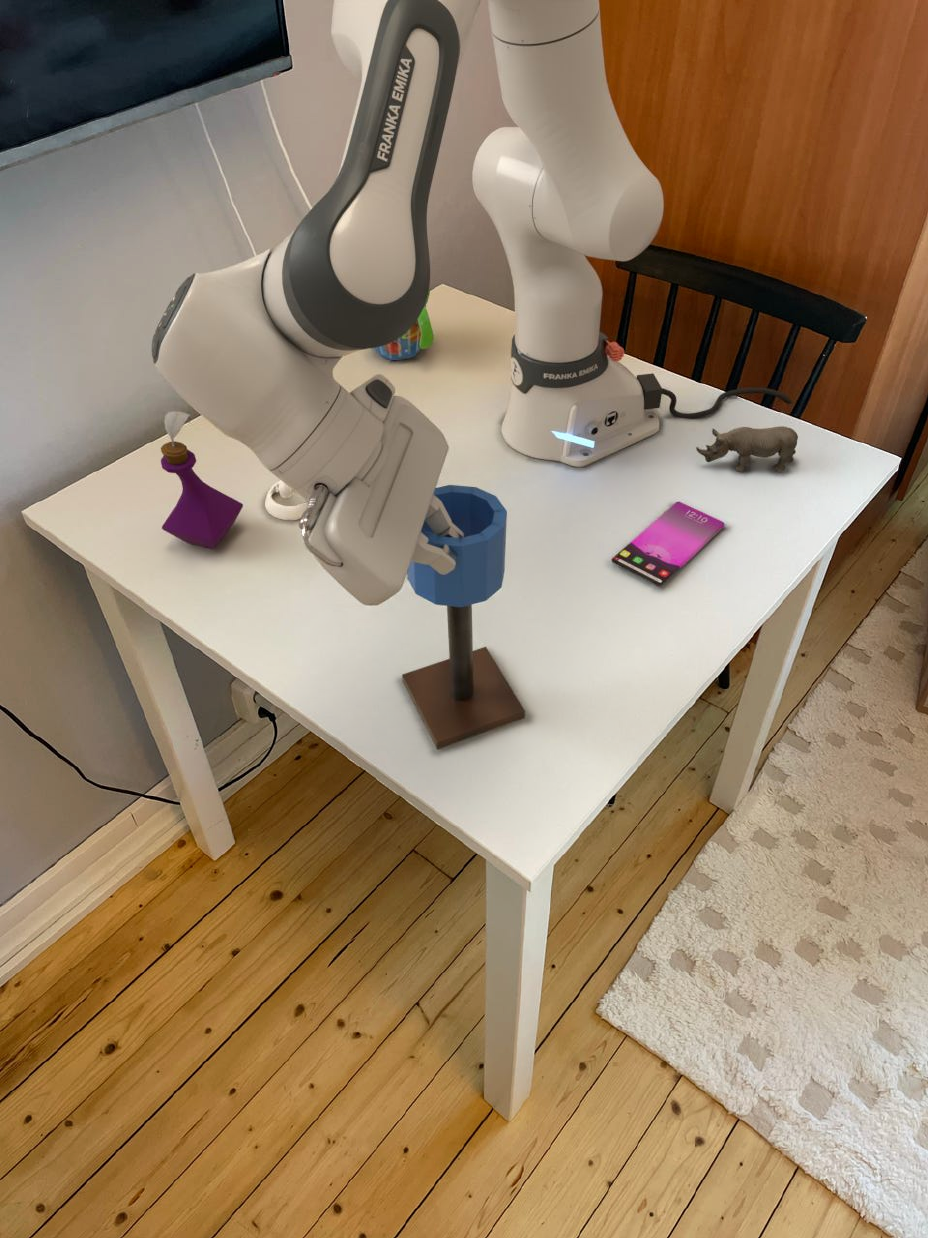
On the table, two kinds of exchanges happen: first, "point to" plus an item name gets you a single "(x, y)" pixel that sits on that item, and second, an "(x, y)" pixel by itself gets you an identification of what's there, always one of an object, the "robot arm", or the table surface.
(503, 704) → the stand
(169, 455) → the perfume bottle
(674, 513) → the smartphone
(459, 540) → the tape roll
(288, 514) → the hook
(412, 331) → the snack cup
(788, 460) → the rhino figurine
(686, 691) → the table surface
